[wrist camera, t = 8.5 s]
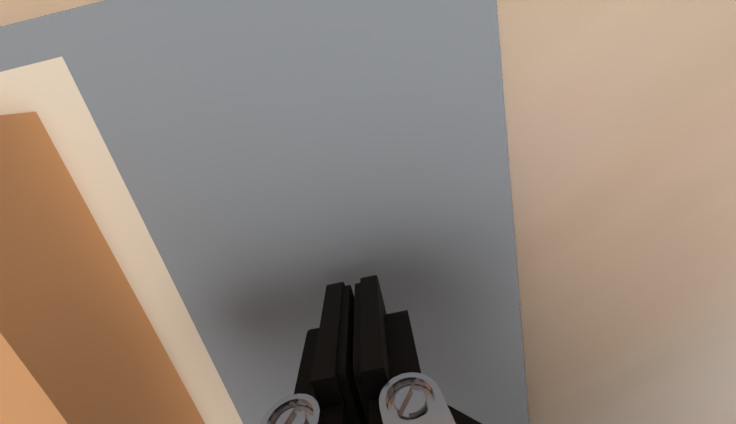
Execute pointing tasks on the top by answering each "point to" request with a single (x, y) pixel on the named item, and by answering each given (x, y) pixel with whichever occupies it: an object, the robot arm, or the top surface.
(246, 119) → the mat
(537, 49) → the top surface
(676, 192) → the top surface
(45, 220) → the t block
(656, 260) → the top surface
